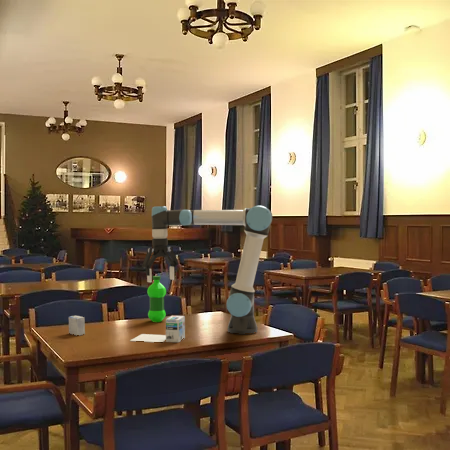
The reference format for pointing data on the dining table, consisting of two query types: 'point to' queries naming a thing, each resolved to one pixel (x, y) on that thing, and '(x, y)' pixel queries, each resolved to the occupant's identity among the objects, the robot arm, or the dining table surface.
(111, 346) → the dining table surface
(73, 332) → the medicine box
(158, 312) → the plastic bottle
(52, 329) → the dining table surface
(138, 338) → the mat
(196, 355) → the dining table surface
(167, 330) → the light bulb box
